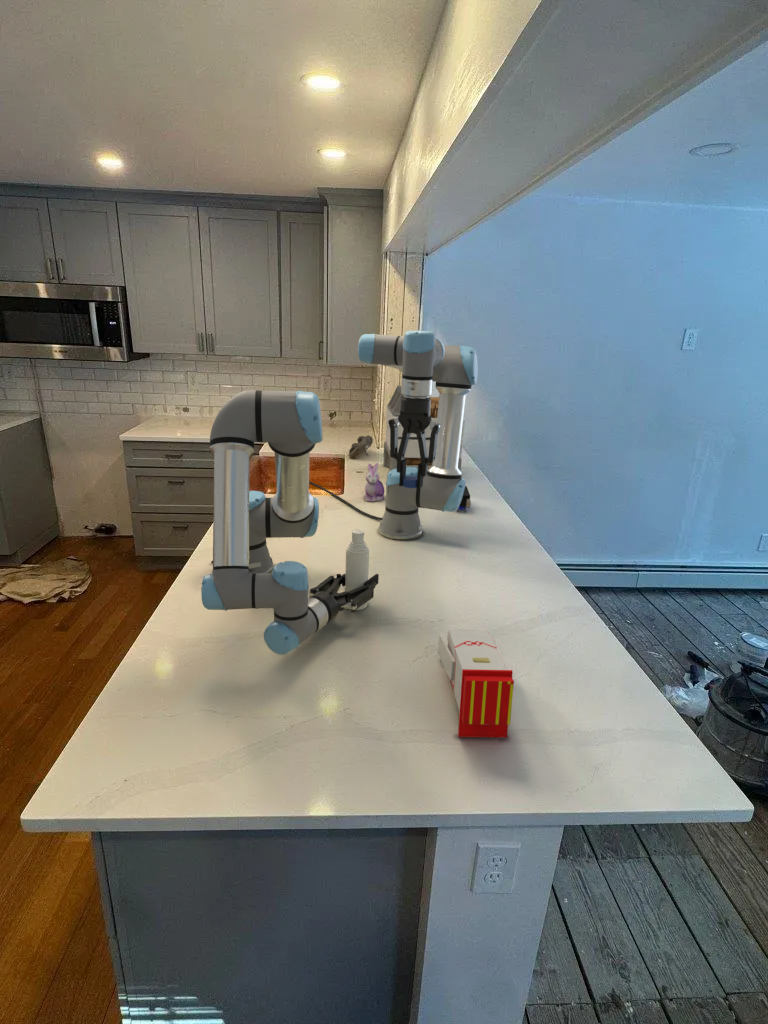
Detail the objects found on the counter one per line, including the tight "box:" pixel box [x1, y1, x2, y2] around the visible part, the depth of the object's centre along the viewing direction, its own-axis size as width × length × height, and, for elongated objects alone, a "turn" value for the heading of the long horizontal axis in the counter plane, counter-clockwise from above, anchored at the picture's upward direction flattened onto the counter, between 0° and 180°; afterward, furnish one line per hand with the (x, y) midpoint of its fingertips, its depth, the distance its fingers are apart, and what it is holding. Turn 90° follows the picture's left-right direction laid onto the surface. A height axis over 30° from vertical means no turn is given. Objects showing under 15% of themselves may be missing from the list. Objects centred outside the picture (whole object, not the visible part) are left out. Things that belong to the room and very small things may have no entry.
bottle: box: [344, 528, 370, 611], centre depth 148 cm, size 6×6×21 cm
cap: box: [403, 476, 417, 488], centre depth 148 cm, size 4×4×2 cm
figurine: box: [364, 462, 385, 502], centre depth 233 cm, size 9×10×15 cm
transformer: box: [383, 384, 465, 472], centre depth 268 cm, size 34×33×41 cm
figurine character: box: [456, 485, 472, 513], centre depth 228 cm, size 7×8×15 cm
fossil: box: [348, 435, 374, 460], centre depth 302 cm, size 22×10×15 cm
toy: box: [437, 628, 515, 738], centre depth 117 cm, size 12×13×30 cm
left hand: (366, 575), depth 153 cm, fingers closed on bottle, 6 cm apart
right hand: (410, 485), depth 148 cm, fingers closed on cap, 4 cm apart
